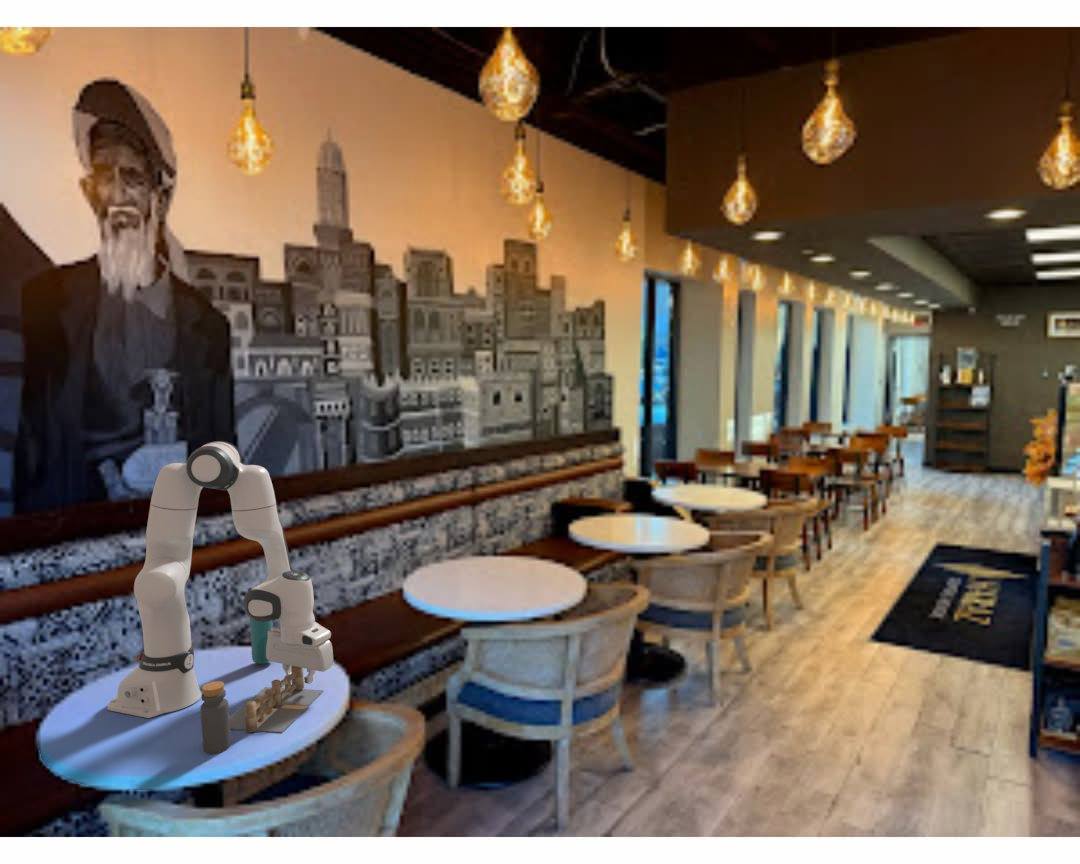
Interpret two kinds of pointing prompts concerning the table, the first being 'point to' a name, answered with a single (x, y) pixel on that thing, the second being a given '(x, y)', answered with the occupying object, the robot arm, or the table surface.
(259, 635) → the beverage bottle
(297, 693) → the card
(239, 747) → the table surface
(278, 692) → the fence fixed
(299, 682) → the fence gate
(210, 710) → the bottle
